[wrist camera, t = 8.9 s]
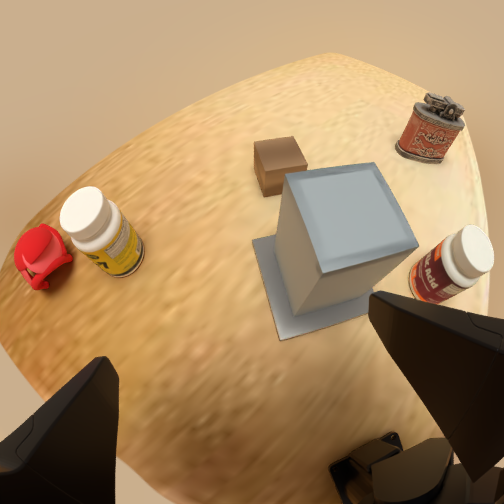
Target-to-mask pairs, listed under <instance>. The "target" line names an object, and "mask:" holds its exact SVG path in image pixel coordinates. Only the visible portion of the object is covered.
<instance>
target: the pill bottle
mask: <svg viewBox="0 0 504 504" xmlns="http://www.w3.org/2000/svg"><path fill="white" fill-rule="evenodd" d="M493 263H494V252H493V247H492V245H491V242H490V240H489V238H488V237H487V235H486V234H485V232H484V231H483V230H482V229H480V228H479V227H477V226H475V225H467V226H465V227H464V228H463V229H461V230H460V231H459V232H458V233H457V234H451V235H449V236H448V237H446V238H445V239H444V240H443V241H442V242H441V243H439V244H438V245H437V246H436V247H435V248H434V249H432V250H431V251H430V252H429V253H428V254H427V255H426V256H424V257H423V258H422V259H421V260H419V261H418V262H417V263H416V264H415V265H414V266H413V267H412V269H411V272H410V277H409V281H410V288H411V290H412V293H413V295H414V296H415V297H416V299H417V300H421V301H425V302H429V303H433V304H439V303H441V302H443V301H445V300H447V299H449V298H451V297H453V296H455V295H457V294H458V293H460V292H462V291H464V290H466V289H468V288H470V287H472V286H473V285H475V284H476V282H477V281H478V280H479V278H480V276H482V275H483V274H485V273H487V272H488V271H489V270H490V269H491V268H492V266H493Z"/></svg>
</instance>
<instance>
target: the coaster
mask: <svg viewBox="0 0 504 504" xmlns="http://www.w3.org/2000/svg"><path fill="white" fill-rule="evenodd" d="M275 239H276V235H271V236H267V237H263V238H258V239H254V240H252V243H253V247H254V250H255V254H256V258H257V261H258V265H259V268H260V272H261V275H262V279H263V282H264V286H265V290H266V293H267V297H268V300H269V304H270V307H271V311H272V314H273V318H274V322H275V325H276V329H277V332H278V336H279V339H280V341H282V340H285V339H289V338H292V337H296V336H299V335H303V334H306V333H310V332H313V331H316V330H319V329H323V328H326V327H329V326H332V325H335V324H338V323H341V322H344V321H347V320H350V319H353V318H356V317H359V316H362V315H364V314H367V313H368V308H369V296H370V294H371V293H374V292H373V289H372V288H371V289H369V290H368V291H367V292H366V293H365V294H363V295H362V296H361V297H360V298H356V299H353V300H350V301H347V302H344V303H341V304H337V305H334V306H331V307H327V308H324V309H320V310H317V311H313V312H310V313H306V314H303V315H299V316H295V317H293V314H292V310H291V307H290V303H289V300H288V297H287V293H286V290H285V286H284V283H283V280H282V276H281V273H280V270H279V266H278V263H277V260H276V256H275V253H274V246H275Z"/></svg>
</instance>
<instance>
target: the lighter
mask: <svg viewBox="0 0 504 504" xmlns="http://www.w3.org/2000/svg"><path fill="white" fill-rule="evenodd" d="M424 101H425V102H426V103H427V104H425V103H418V102H417V103H415V105H414V107H413V110H414V111H413V113H412V115H411V117H410V120H409V122H408V124H407V126H406V128H405V130H404V132H403V134H402V136H401V138H400V140H398V141H397V143H396V145H395V149H396V151H397V153H398V154H399V155H401V156H402V157H404V158H407V159H411V160H414V161H418V162H422V163H430V164H440V163H441V162H442V160H443V159H444V155H445V154H446V152H447V151H448V149H449V147H450V146H451V144H452V143H453V141H454V140H455V138H456V136H457V135H458V133H459V132H460V131H462V130H463V128H464V126H465V124H464V122H463V121H462V120H461V118H459V117H460V116H461V115H462V114H463V112H464V111H465V109H464V108H463V107H462V105H460V104H458V103H455V102H454V101H453V100H452V99H451V98H450V97H448V96H445V97H444V98H442V97H441V96H438V95H436V94H433V93H426V95H425V98H424Z"/></svg>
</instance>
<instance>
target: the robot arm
mask: <svg viewBox="0 0 504 504" xmlns="http://www.w3.org/2000/svg"><path fill="white" fill-rule="evenodd" d="M368 316H369V320H370V322H371V323H372V325H373V327H374V329H375V330H376V332H377V334H378V336H379V337H380V339H381V341H382V343H383V344H384V346H385V348H386V350H387V351H388V353H389V354H390V356H391V357H392V359H393V360H394V361H395V363H396V364H397V366H398V367H399V369H400V370H401V371H402V373H403V374H404V376H405V377H406V378H407V380H408V381H409V383H410V384H411V386H412V387H413V389H414V390H415V391H416V393H417V394H418V396H419V397H420V399H421V400H422V402H423V403H424V405H425V406H426V408H427V409H428V411H429V412H430V414H431V415H432V417H433V418H434V420H435V421H436V423H437V425H438V426H439V428H440V429H441V431H442V432H443V434H444V436H445V437H446V438H430V439H427V440H425V441H424V442H422V443H420V444H418V445H416V446H414V447H412V448H410V449H408V450H405V451H403V448H402V445H401V442H400V439H399V436H398V434H397V433H396V432H390V433H388V434H387V435H385V436H383V437H382V438H380V439H375V440H373V441H371V442H369V443H367V444H366V445H364V446H362V447H360V448H358V449H356V450H354V451H352V452H351V453H350V454H349V456H347V457H345V458H343V459H340V460H338V461H336V462H334V463H332V464H331V465H330V466H329V468H328V470H329V472H330V475H331V477H332V480H333V482H334V484H335V487H336V489H337V492H338V494H339V496H340V499H341V501H342V503H343V504H504V468H500V467H494V466H495V464H497V463H498V462H499V461H500V460H501V459H502V458H503V457H504V319H499V318H493V317H488V316H483V315H479V314H475V313H470V312H467V313H466V311H462V310H458V309H454V308H450V307H446V306H441V305H437V304H433V303H429V302H425V301H421V300H417V299H413V298H409V297H405V296H401V295H397V294H393V293H389V292H385V291H377V292H374V293H371V294H370V296H369V308H368ZM118 419H119V377H118V374H117V372H116V370H115V369H114V367H113V365H112V364H111V362H110V360H109V359H108V358H107V357H106V356H101V357H96V358H94V359H93V360H92V361H91V362H90V363H89V364H87V365H86V366H85V367H84V368H83V369H82V370H81V371H80V372H79V373H77V374H76V375H75V376H74V377H73V378H72V379H71V380H70V381H68V382H67V383H66V384H65V385H64V386H63V387H62V388H61V389H60V390H59V391H57V392H56V393H55V394H54V395H53V396H52V397H51V398H50V399H49V400H48V401H47V402H45V403H44V404H43V405H42V406H41V407H40V408H39V409H38V410H37V411H36V412H35V413H34V415H31V416H30V417H29V418H28V419H27V420H26V421H25V422H24V423H23V424H22V425H20V426H19V427H18V428H17V429H16V430H15V431H14V432H12V433H11V434H10V435H9V436H8V437H6V438H5V439H4V440H3V441H1V442H0V504H115V467H116V446H117V432H118ZM392 435H394V437H393V439H391V436H392ZM454 452H455V454H456V455H457V457H458V458H459V460H460V462H461V463H460V464H455V465H454V464H453V463H454V460H453V459H454ZM336 466H337V469H336V470H332V469H333V468H334V467H336Z"/></svg>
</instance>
